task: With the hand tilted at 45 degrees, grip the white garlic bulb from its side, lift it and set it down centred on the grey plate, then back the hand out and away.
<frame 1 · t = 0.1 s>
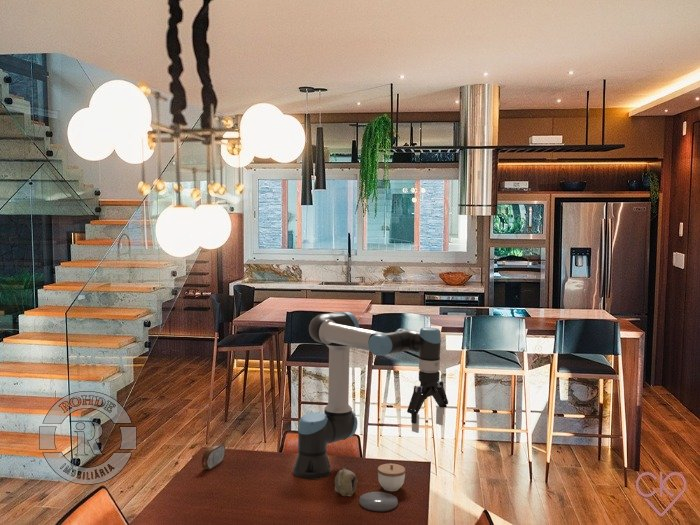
hand: (427, 428, 239), 28 cm above the table, tool pointing down, fingers open, 13 cm apart
tin: (214, 466, 272), on the table
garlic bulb: (346, 493, 248), on the table
lidded jar: (391, 488, 253), on the table
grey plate: (378, 502, 240), on the table
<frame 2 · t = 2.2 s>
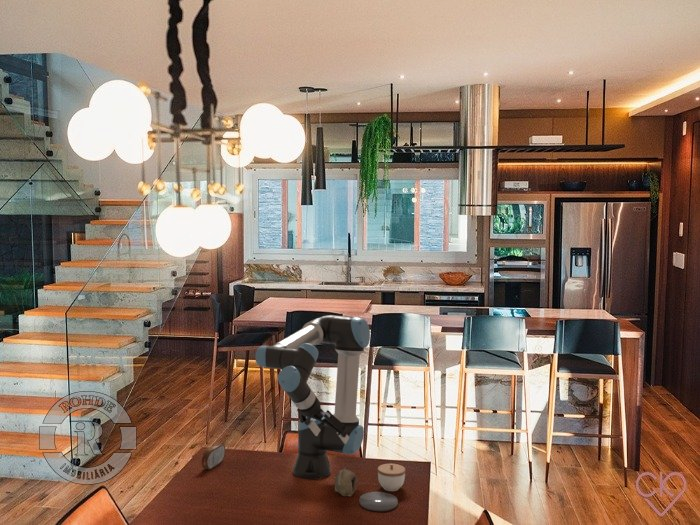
hand: (332, 436, 238), 24 cm above the table, tool tilted 40°, fingers open, 13 cm apart
nothing on the table moved.
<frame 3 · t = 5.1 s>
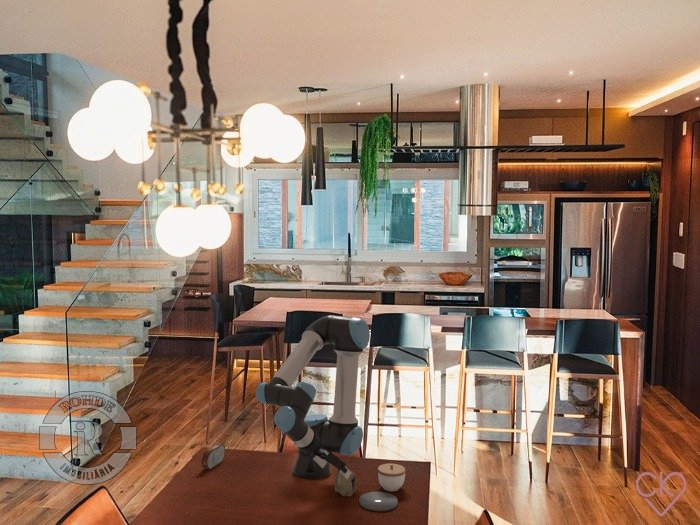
hand: (336, 470, 243), 10 cm above the table, tool tilted 45°, fingers open, 13 cm apart
nothing on the table moved.
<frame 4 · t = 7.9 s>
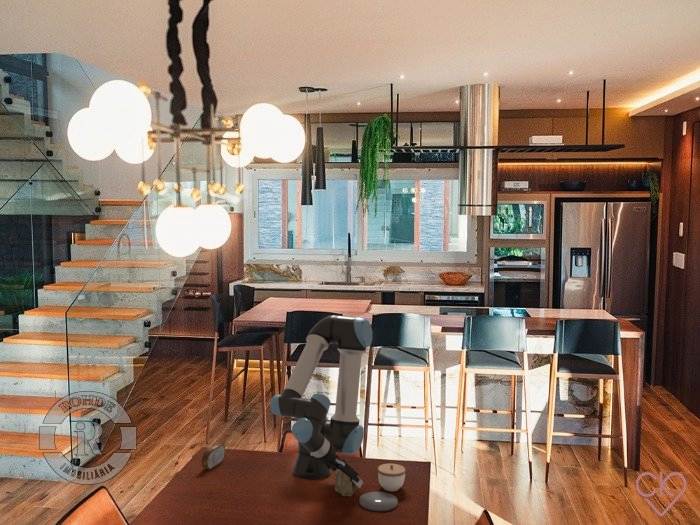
hand: (353, 481, 250), 4 cm above the table, tool tilted 45°, fingers closed on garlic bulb, 8 cm apart
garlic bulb: (346, 493, 248), on the table, touching gripper
everything else where it was.
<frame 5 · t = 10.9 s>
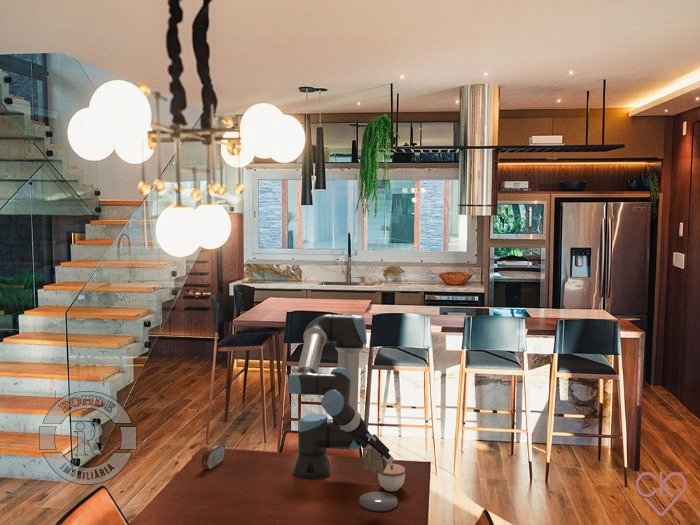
hand: (383, 458, 241), 16 cm above the table, tool tilted 45°, fingers closed on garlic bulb, 7 cm apart
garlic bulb: (376, 471, 238), point 12 cm above the table, touching gripper
everything else where it was.
when the fingers open (6 cm above the table, at t = 14.2 s): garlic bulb stays where it is, resting on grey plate.
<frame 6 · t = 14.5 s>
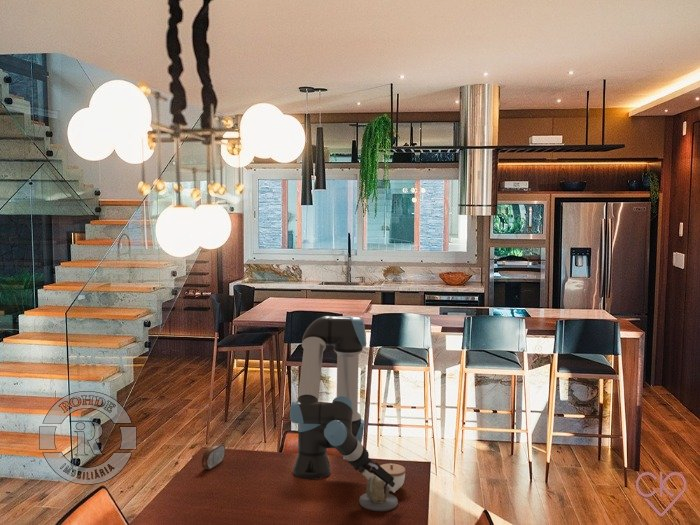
hand: (384, 484, 241), 6 cm above the table, tool tilted 45°, fingers open, 11 cm apart
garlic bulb: (378, 500, 239), point 1 cm above the table, touching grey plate
everything else where it was.
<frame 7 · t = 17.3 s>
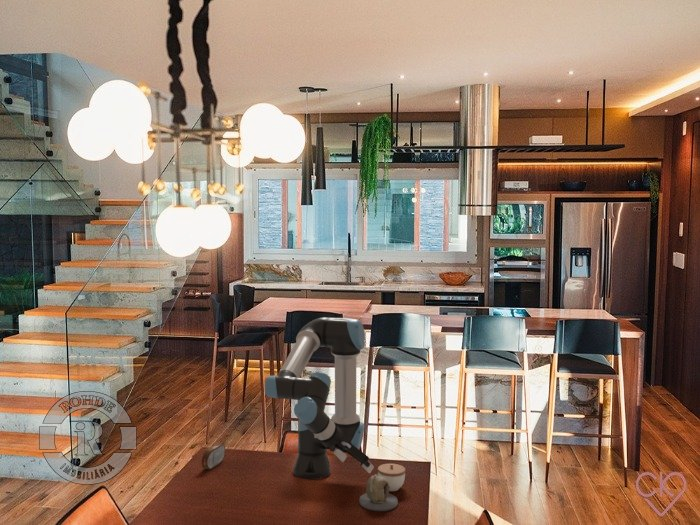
hand: (357, 464, 231), 17 cm above the table, tool tilted 45°, fingers open, 13 cm apart
nothing on the table moved.
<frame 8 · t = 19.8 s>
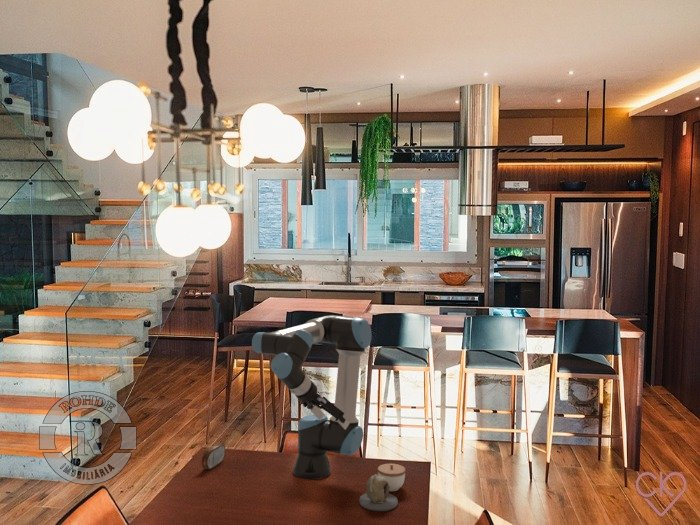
hand: (334, 421, 238), 30 cm above the table, tool tilted 45°, fingers open, 13 cm apart
nothing on the table moved.
at the end: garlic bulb 0.2 cm from the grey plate (horizontally); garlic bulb touching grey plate; the gripper is holding nothing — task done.
